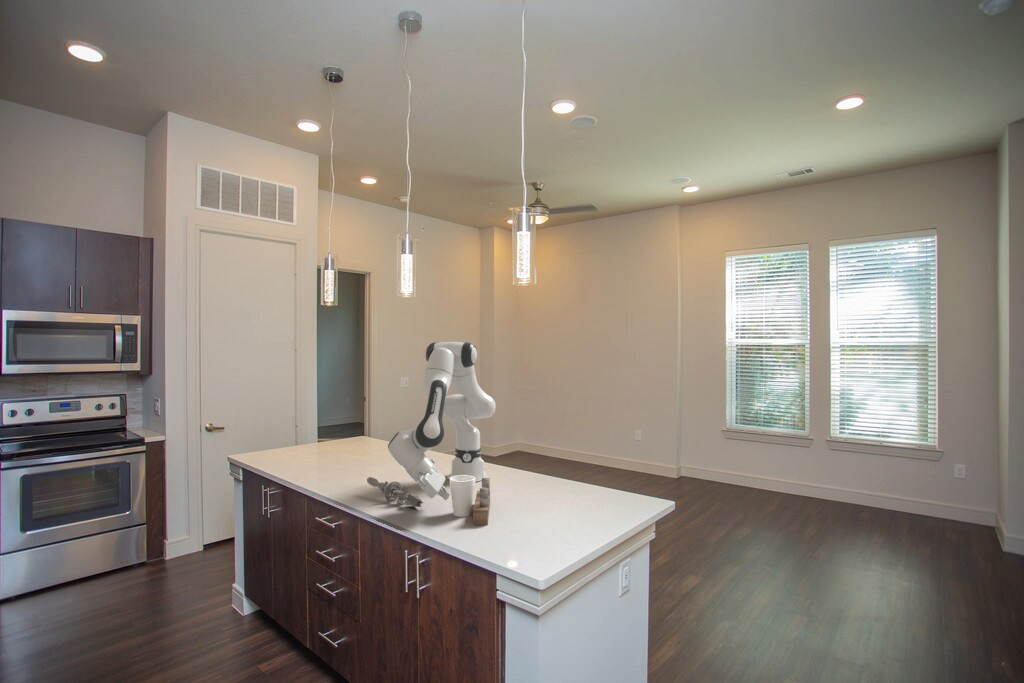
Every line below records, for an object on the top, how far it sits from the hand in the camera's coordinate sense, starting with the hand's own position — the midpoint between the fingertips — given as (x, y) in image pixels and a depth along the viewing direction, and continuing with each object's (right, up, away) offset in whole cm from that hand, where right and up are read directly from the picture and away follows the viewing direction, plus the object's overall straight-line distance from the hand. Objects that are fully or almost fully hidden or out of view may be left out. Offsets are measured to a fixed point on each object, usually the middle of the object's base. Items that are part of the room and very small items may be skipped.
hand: (447, 497), depth 186 cm
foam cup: (+5, -6, 0) cm, 8 cm away
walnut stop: (+12, -6, 0) cm, 14 cm away
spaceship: (-24, -6, +15) cm, 29 cm away
